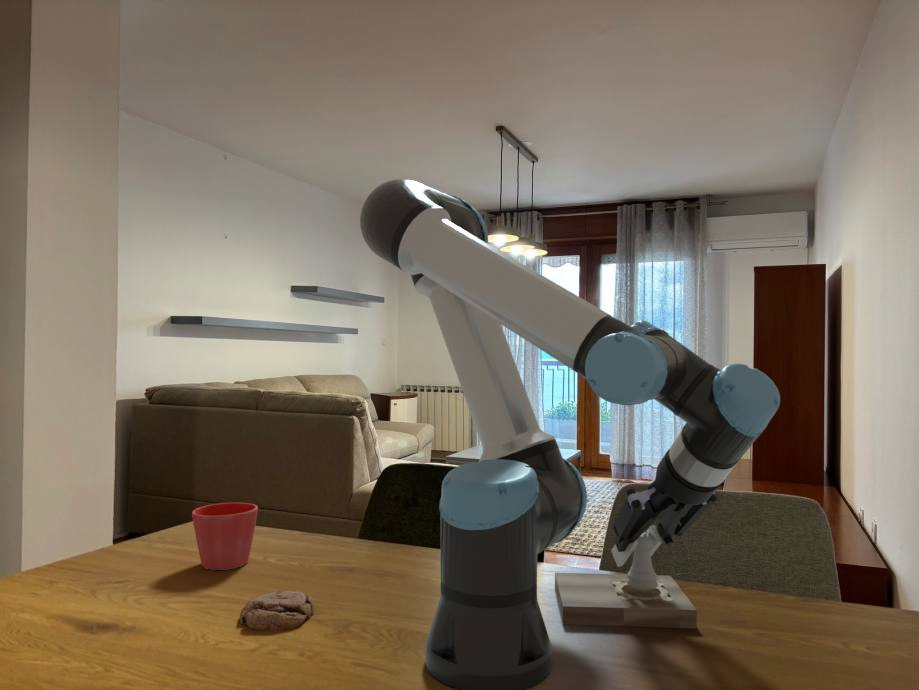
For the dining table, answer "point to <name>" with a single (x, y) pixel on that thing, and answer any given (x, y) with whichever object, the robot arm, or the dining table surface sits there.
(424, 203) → the robot arm
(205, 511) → the flower pot
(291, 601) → the cookie
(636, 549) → the rook chess piece
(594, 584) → the socket board
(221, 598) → the dining table surface
